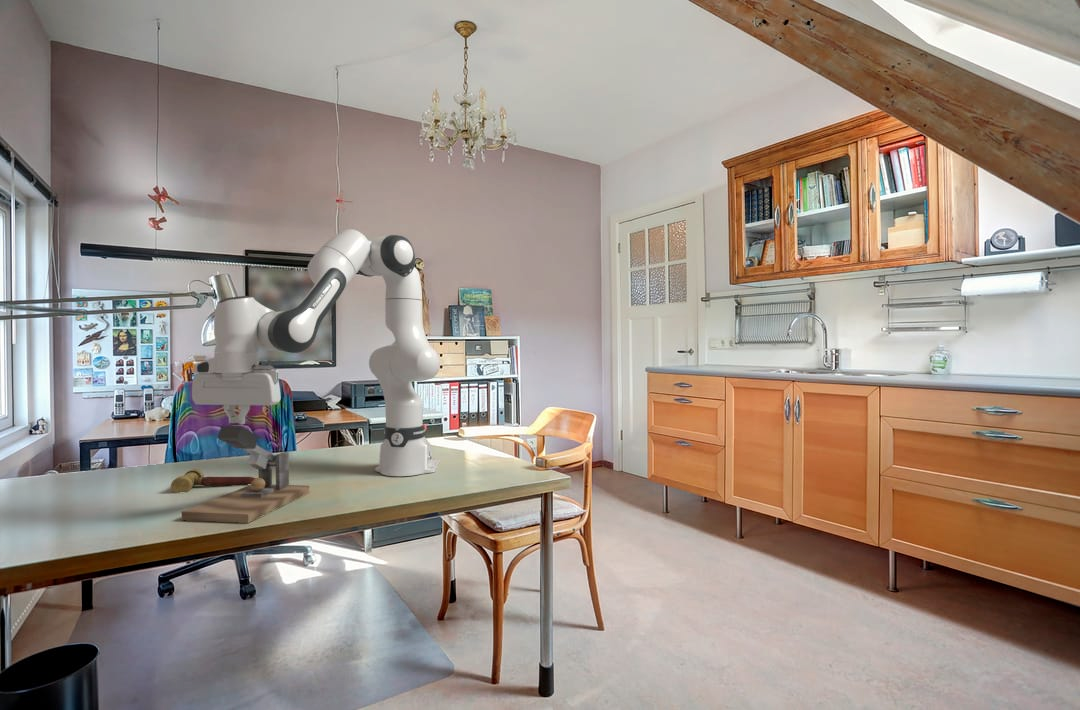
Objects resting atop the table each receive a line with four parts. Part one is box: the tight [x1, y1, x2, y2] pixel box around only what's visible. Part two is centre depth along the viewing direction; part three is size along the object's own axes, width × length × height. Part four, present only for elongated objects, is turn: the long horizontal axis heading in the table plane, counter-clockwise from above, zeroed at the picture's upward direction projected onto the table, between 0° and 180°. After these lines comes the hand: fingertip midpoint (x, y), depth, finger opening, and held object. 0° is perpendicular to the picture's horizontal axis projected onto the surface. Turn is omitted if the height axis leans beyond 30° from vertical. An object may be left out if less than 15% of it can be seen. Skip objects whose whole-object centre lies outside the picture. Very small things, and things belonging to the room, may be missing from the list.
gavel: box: [170, 468, 256, 494], centre depth 147 cm, size 21×5×10 cm
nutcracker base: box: [181, 451, 310, 524], centre depth 128 cm, size 24×16×11 cm, turn 173°
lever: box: [217, 425, 277, 470], centre depth 129 cm, size 20×5×6 cm, turn 173°
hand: (237, 424), depth 123 cm, fingers closed
